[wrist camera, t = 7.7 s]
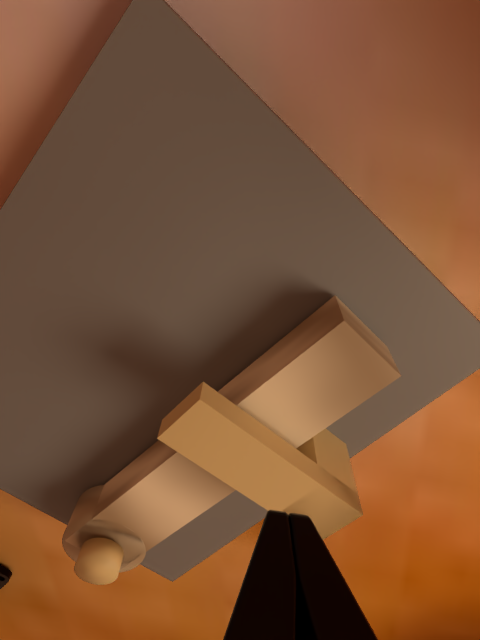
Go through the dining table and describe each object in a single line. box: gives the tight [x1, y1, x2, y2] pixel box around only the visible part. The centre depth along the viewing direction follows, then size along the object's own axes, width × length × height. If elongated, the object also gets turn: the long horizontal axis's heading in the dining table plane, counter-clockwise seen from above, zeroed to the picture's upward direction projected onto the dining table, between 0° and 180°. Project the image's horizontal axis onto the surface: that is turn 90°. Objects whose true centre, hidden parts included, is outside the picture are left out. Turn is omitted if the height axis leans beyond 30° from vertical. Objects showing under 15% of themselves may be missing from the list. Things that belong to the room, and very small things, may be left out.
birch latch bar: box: [62, 295, 401, 572], centre depth 20 cm, size 18×4×2 cm, turn 136°
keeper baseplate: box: [0, 0, 480, 585], centre depth 18 cm, size 22×18×5 cm
